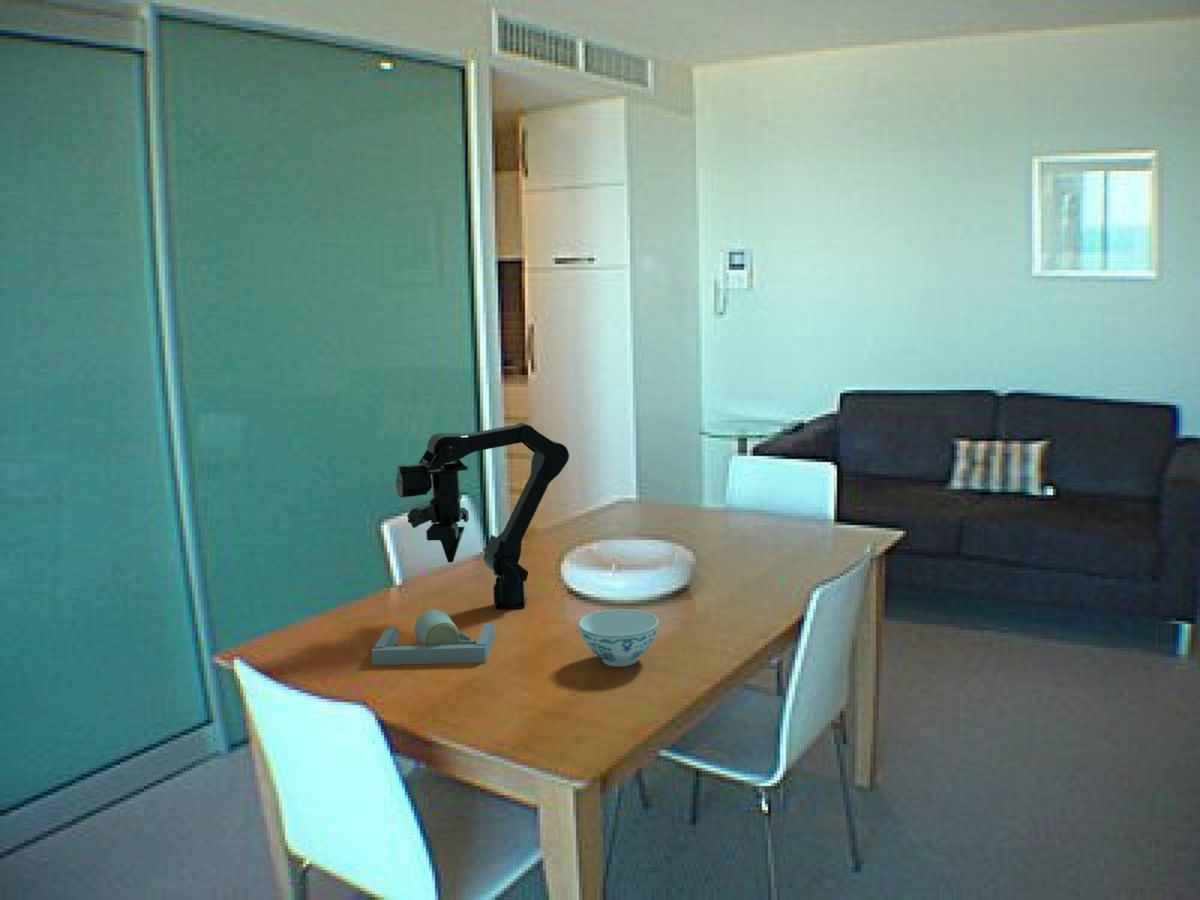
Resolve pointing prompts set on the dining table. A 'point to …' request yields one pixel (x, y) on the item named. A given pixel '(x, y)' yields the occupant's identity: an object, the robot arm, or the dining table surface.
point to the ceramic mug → (439, 630)
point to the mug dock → (431, 650)
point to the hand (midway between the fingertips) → (450, 562)
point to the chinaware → (619, 634)
